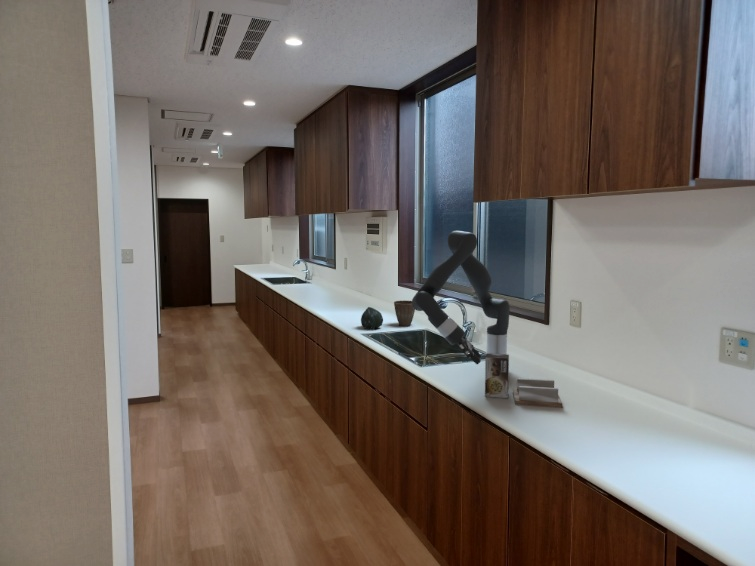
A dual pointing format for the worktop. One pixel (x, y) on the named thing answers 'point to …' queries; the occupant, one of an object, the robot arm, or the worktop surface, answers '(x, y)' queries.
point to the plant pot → (404, 312)
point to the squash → (371, 318)
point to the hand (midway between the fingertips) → (479, 360)
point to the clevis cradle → (536, 393)
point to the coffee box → (497, 375)
